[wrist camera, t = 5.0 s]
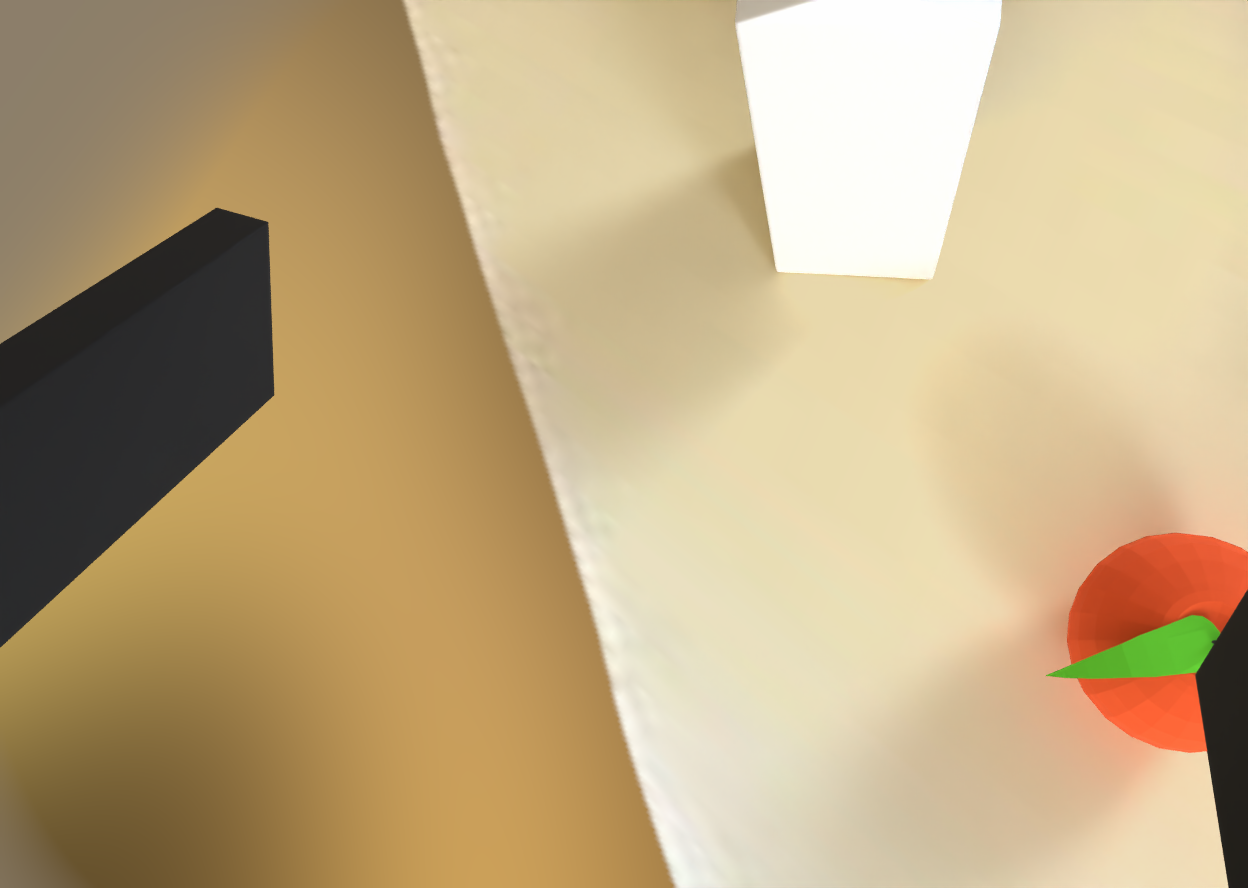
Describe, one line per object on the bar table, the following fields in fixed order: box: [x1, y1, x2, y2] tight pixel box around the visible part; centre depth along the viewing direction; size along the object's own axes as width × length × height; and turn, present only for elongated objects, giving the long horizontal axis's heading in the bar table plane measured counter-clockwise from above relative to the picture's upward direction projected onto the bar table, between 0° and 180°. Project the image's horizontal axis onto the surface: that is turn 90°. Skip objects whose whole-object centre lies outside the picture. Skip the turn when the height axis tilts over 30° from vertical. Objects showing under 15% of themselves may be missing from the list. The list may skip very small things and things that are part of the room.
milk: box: [735, 0, 1002, 279], centre depth 34 cm, size 6×6×22 cm
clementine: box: [1046, 533, 1248, 753], centre depth 37 cm, size 8×7×7 cm
